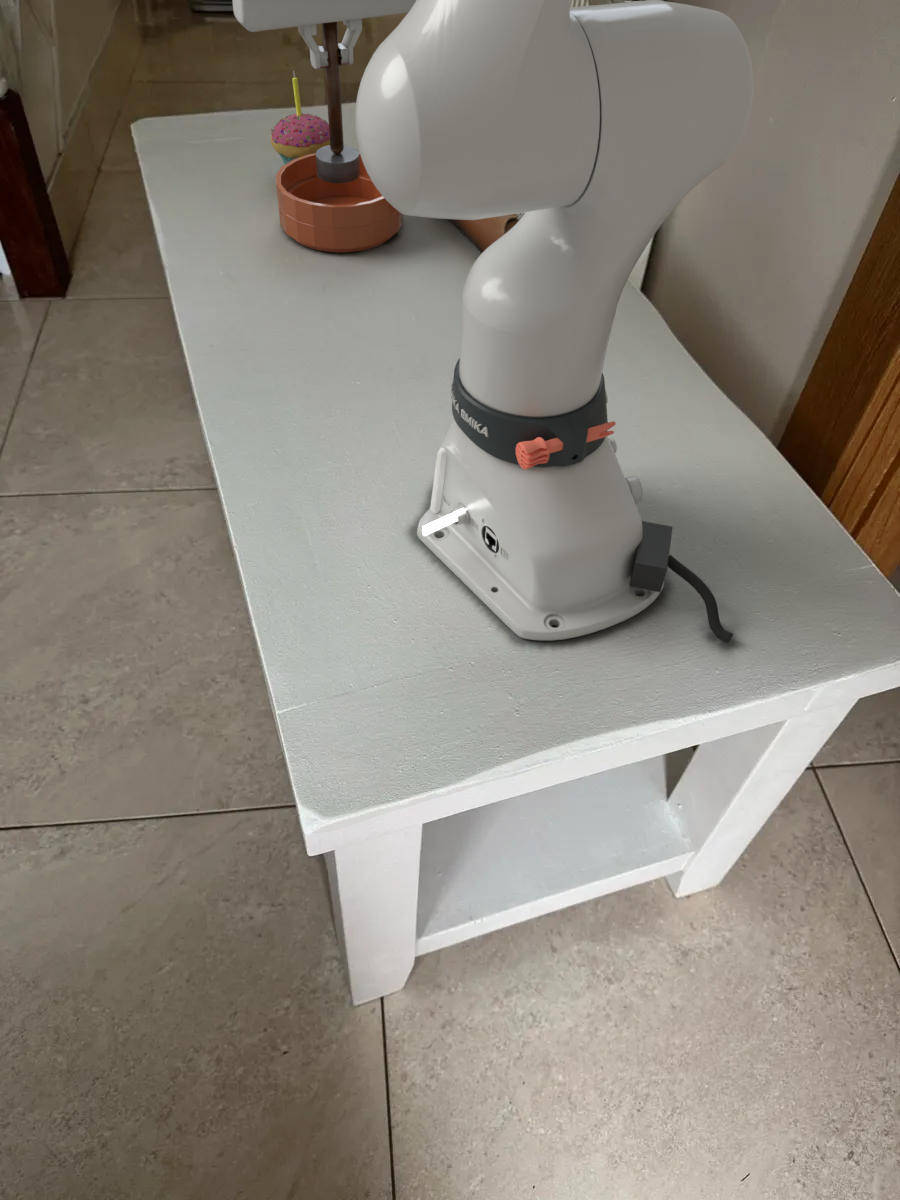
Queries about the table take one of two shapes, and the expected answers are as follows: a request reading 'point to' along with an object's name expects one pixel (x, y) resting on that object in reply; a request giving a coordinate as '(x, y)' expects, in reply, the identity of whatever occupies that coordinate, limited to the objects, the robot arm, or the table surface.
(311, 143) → the cupcake
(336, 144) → the rod on grey base
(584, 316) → the robot arm
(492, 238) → the sunglasses case
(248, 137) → the table surface
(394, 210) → the bowl
